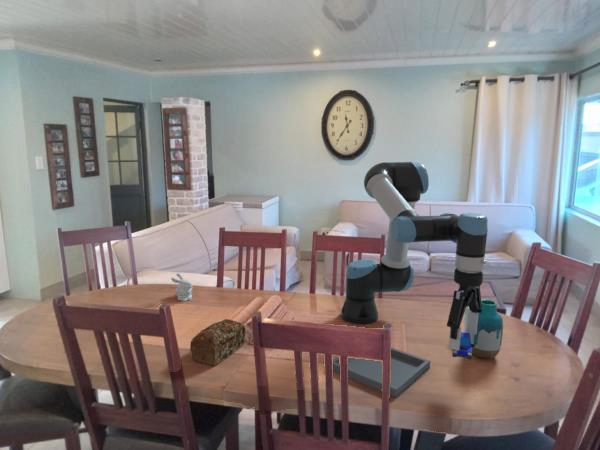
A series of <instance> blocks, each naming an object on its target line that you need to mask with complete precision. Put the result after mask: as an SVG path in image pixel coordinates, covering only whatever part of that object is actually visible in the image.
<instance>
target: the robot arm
mask: <svg viewBox="0 0 600 450" xmlns="http://www.w3.org/2000/svg"><path fill="white" fill-rule="evenodd" d="M429 183H430V181H429V173H428V171H427V168H426V166H425V165H424V164H422V163H421V162H413V161H403V162H402V161H399V162H394V161H393V162H385V161H384V162H380V163H376V164H374V165H373V166H372V167H370V168H369V170H368V171H367V172H366V174H365V175H364V179H363V186H364V190H365V192H366V193H367V195H368V196H369V197H370V198H372V199H374V200H375V201H376V203H378V205H379V206H380V207H381V209H382V210H383V212H384V213H385V214H386V216H387V217H388V219H389V223H388V229H387V231H388V232H387V238H386V239H387V240H386V247H385V254H384V255H383V256H381V258H380V262H379V263H376V261H375V260H373V259H359V260H358V259H357V260H354V261H351V262H350V263H349V264H348V265H347V267H346V273H345V277H346V278H345V279H346V280H345V300H344V302H343V306H342V308H341V312H340V316H341V319H342V320H344V321H345V322H348V323H350V324H351V323H352V324H355V325H368V324H367V323H369V324H372V323H375V322H377V321H378V320H379V311H378V308H377V307H378V306H377V304H376V301H375V299H376V298H375V296H376V295H375V294H377V293H392V292H393V293H394V292H396V293H400V292H404V291H405V292H406V291H408V290H410V289H411V287H412V285H413V283H414V279H415V274H414V268H413V265H412V264H411V261H410V260H409V258H408V253H409V248H410V247H409V245H410V243H422V242H423V243H426V242H453V243H455V244H456V247H455V248H456V249H455V258H454V267H455V269H454V273H453V282H455V283H456V284H457V285H458V286H459V287H458V289H457V290H454V291H453V297H452V302H451V306H450V311H449V314H448V319H447V323H446V326H447V328H450V329H449V341H448V348H449V349H451V350H452V349H454V350H458V351H459V348H460V336H461V332H462V327H461V324H462V322H463V318H464V316H465V309H466V307H467V306H469V309H470V310H471V311H469V312H468V322H467V332H468V333H471V334H475V335H476V334H477V324H478V313H482V309H481V308H482V303H481V300H482V293H481V286H482V285H483V280H484V271H483V270H484V268H485V264H486V263H487V260H485V257H486V247H487V240H488V239H487V238H488V232H489V231H488V230H489V229H488V217H487V216H486V215H485V214H481V213H476V212H475V213H474V212H465V213H461V214H460V215H457V214H456V213H449V212H445V213H441V214H440V215H419V214H418V213H417V212H416V211H415V207H416V203H418V202H419V201H420V200H421V195H424V194H425V193H427V191H429V190H428V189H429V185H430V184H429ZM479 308H480V309H479ZM477 312H478V313H477Z"/></svg>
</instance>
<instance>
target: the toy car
mask: <svg viewBox="0 0 600 450" xmlns="http://www.w3.org/2000/svg"><path fill="white" fill-rule="evenodd" d="M472 347H475V344H471V339H470V334H469V333H464V331H463V332H462V331H461V336H460V348H459V351H458V350H454V349H451V350H452V353H451V354H452V356H451V357H452V358H463V359H467V360H473V353H472Z"/></svg>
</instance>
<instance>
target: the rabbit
mask: <svg viewBox="0 0 600 450" xmlns="http://www.w3.org/2000/svg"><path fill="white" fill-rule="evenodd" d="M175 275H176V277H178V278H174V277H171V282H173V283H175V284H177V287H176V288H175V295H176V297H177V300H178V301H182V302H187V301H191V300H192V299H193V295H192V294H193V283H192V282H191V281H190V280H188V279H184V277H183V275H181V273H176V274H175Z"/></svg>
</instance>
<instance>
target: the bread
mask: <svg viewBox="0 0 600 450" xmlns="http://www.w3.org/2000/svg"><path fill="white" fill-rule="evenodd" d="M245 339H246V327H245V324H243V323H242V322H241V321H240V322H239V321H236V320H233V319H230V318H229V319H227V318H226V319H223V320H221V321H217V322H214V323H212V324H210V325H208V326H207V327H205V328H204V329H202V330H200V332H198V333H197V334H196V335H195V336H193V338H192V339H191V340H190V342H189V343H190V347H189V348H190V349H189V350H190V352H191V359H192V360H193V361H194V362H196V363H199V364H204V365H206V366H210V367H214V366H218V364H219V363H220V362H223V361H224V360H226V359H227V358H228V357H230V356H231V355H233V354H234V353H235V352H236V351H237V350H239V349H240V348H241V347H243V345H244V344H245Z"/></svg>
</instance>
